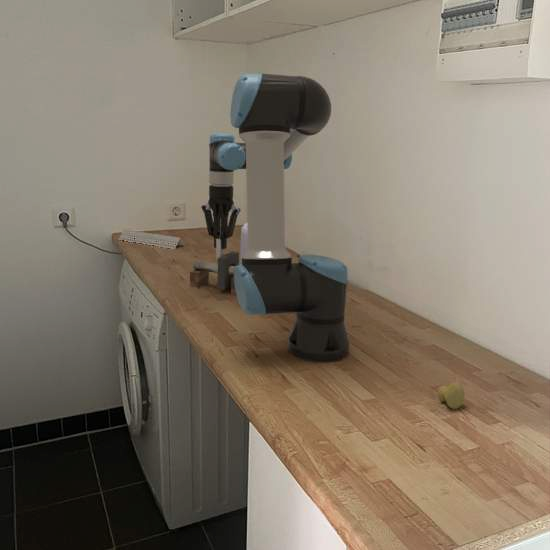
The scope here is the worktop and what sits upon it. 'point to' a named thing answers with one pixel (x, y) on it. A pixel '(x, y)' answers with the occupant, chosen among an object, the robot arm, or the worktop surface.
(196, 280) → the saddles
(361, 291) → the worktop surface
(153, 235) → the corner bead
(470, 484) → the worktop surface
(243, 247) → the soap bottle
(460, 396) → the knob
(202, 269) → the pipe
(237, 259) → the collar
